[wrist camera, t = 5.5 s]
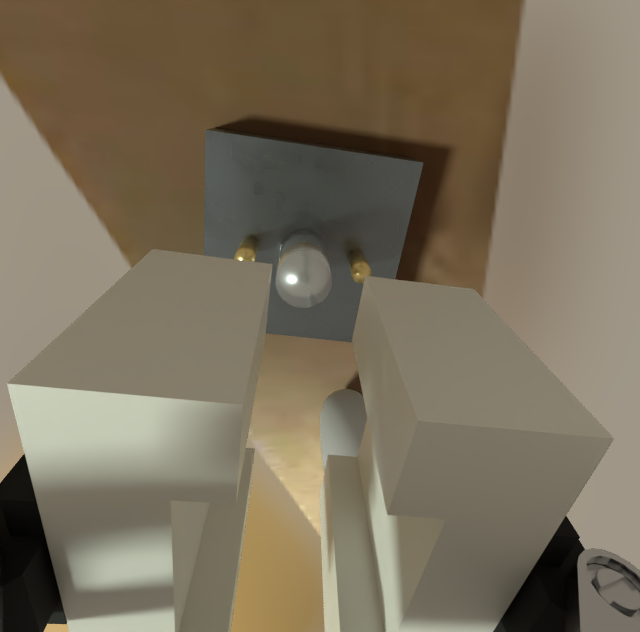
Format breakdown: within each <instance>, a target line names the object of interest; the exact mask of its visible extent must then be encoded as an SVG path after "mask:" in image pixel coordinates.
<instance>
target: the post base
mask: <svg viewBox="0 0 640 632" xmlns="http://www.w3.org/2000/svg"><path fill="white" fill-rule="evenodd" d="M422 167H423V162H421V161H419V160H417V159H415V158H409V157H402V156H396V155H389V154H382V153H376V152H369V151H363V150H356V149H349V148H343V147H336V146H330V145H323V144H316V143H310V142H303V141H297V140H290V139H283V138H277V137H270V136H264V135H257V134H250V133H244V132H237V131H231V130H224V129H217V128H211V129H207V130H206V135H205V215H204V256H211V257H219V258H227V259H235V260H243V261H251V262H259V263H267V264H272V274H271V284H270V295H269V305H268V315H267V326H266V333H269V334H279V335H288V336H298V337H307V338H317V339H326V340H336V341H345V342H352V338H353V333H354V328H355V323H356V318H357V314H358V309H359V304H360V299H361V294H362V290H363V285H364V280H365V276H372V277H380V278H388V279H396V274H397V270H398V266H399V262H400V258H401V254H402V250H403V246H404V242H405V237H406V233H407V229H408V225H409V221H410V217H411V213H412V209H413V204H414V200H415V196H416V192H417V188H418V184H419V180H420V176H421V172H422Z"/></svg>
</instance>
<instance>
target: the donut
mask: <svg viewBox="0 0 640 632" xmlns="http://www.w3.org/2000/svg"><path fill="white" fill-rule="evenodd" d="M366 421H367V413H366V408H365V403H364V398H363V395H361V394H360V393H359V392H357V391H354V390H351V389H341V390H338V391H335V392H333V393H332V394H331V395H329V396H328V398H327V399H326V400H325V402H324V404H323V407H322V411H321V414H320V435H321V450H322V459H323V468H324V472H325V467H326V462H327V457H328V455H341V456H353V457H357V456H358V453H359V449H360V445H361V441H362V437H363V433H364V429H365V425H366Z"/></svg>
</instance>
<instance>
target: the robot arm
mask: <svg viewBox="0 0 640 632" xmlns="http://www.w3.org/2000/svg"><path fill="white" fill-rule="evenodd" d="M579 538H580V537H579V535H578V534H577V532H576V531H575V529H574V528H573V526H572V524H571V523H570V521H569V520H568V518H567V517H566V516H565V518H564V520H563V521H562V523H561V524H560V526H559V527H558V529H557V531H556V532H555V534H554V535H553V537H552V539H551V540H550V542H549V543H548V545H547V547H546V548H545V550H544V551H543V553H542V555H541V556H540V558H539V559H538V561H537V562H536V564H535V566H534V567H533V569H532V570H531V572H530V574H529V575H528V577H527V578H526V580H525V582H524V583H523V585H522V586H521V588H520V590H519V591H518V593H517V594H516V596H515V597H514V599H513V601H512V602H511V604H510V605H509V607H508V609H507V610H506V612H505V613H504V615H503V617H502V618H501V620H500V621H499V623H498V625H497V626H496V628H495V629H494V631H493V632H640V570H639V569H637V568H636V567H635V566H634V565H632V564H631V563H630V562H628V561H626V560H625V559H623V558H621V557H620V556H618V555H616V554H614V553H611V552H608V551H606V550H602V549H594V548H592V549H588V550H585V549H584V547H583V546H582V544H581V543H580V541H579V540H578V539H579ZM47 623H48V624H67V620H66V616H65V612H64V608H63V604H62V600H61V596H60V592H59V588H58V584H57V580H56V576H55V572H54V568H53V564H52V560H51V557H50V553H49V549H48V545H47V541H46V537H45V533H44V529H43V525H42V521H41V517H40V513H39V509H38V505H37V501H36V497H35V493H34V489H33V485H32V481H31V477H30V473H29V469H28V465H27V461H26V457H25V454H24V455H23V456H22V457H21V458H20V460H19V461H18V462H17V463H16V465H15V466H14V467H13V468H12V470H11V471H10V472H9V473H8V474H7V476H6V477H5V478H4V479H3V481H2V482H1V483H0V632H43V631H44V629H45V627H46V625H47Z"/></svg>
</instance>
